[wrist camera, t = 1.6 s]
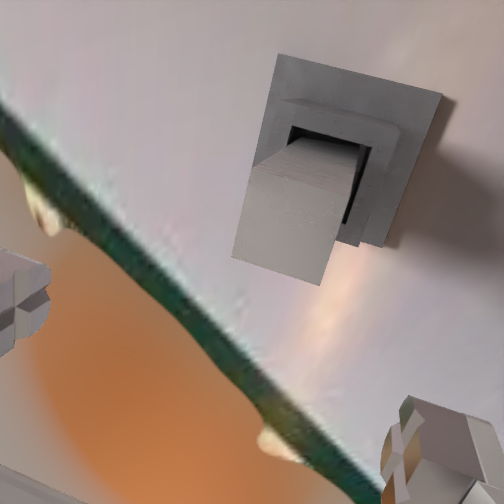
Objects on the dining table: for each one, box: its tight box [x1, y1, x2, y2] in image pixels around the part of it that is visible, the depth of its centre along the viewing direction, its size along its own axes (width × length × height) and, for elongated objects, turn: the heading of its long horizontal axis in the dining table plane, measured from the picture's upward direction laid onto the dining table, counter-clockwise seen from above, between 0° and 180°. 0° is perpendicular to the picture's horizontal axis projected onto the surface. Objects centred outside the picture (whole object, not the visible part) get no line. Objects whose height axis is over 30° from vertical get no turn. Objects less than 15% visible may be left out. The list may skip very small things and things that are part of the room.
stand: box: [252, 54, 442, 248], centre depth 32 cm, size 14×14×14 cm
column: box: [231, 131, 360, 286], centre depth 27 cm, size 4×4×22 cm
